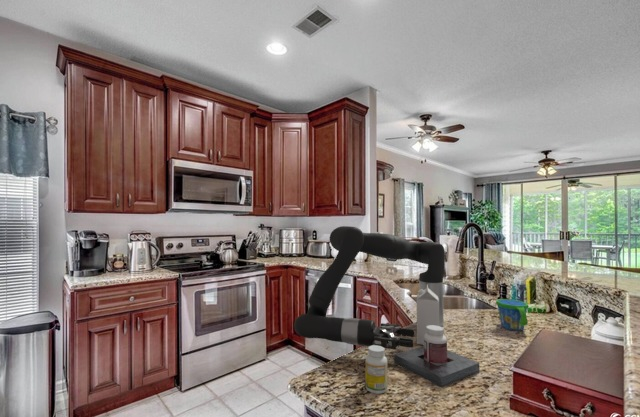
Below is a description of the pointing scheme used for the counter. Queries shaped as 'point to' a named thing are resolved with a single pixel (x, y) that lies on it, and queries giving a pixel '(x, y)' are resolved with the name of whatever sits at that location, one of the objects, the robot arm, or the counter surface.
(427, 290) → the milk carton
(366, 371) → the supplement bottle
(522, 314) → the snack cup
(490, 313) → the counter surface
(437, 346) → the pill bottle
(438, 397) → the counter surface
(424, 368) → the holder block
